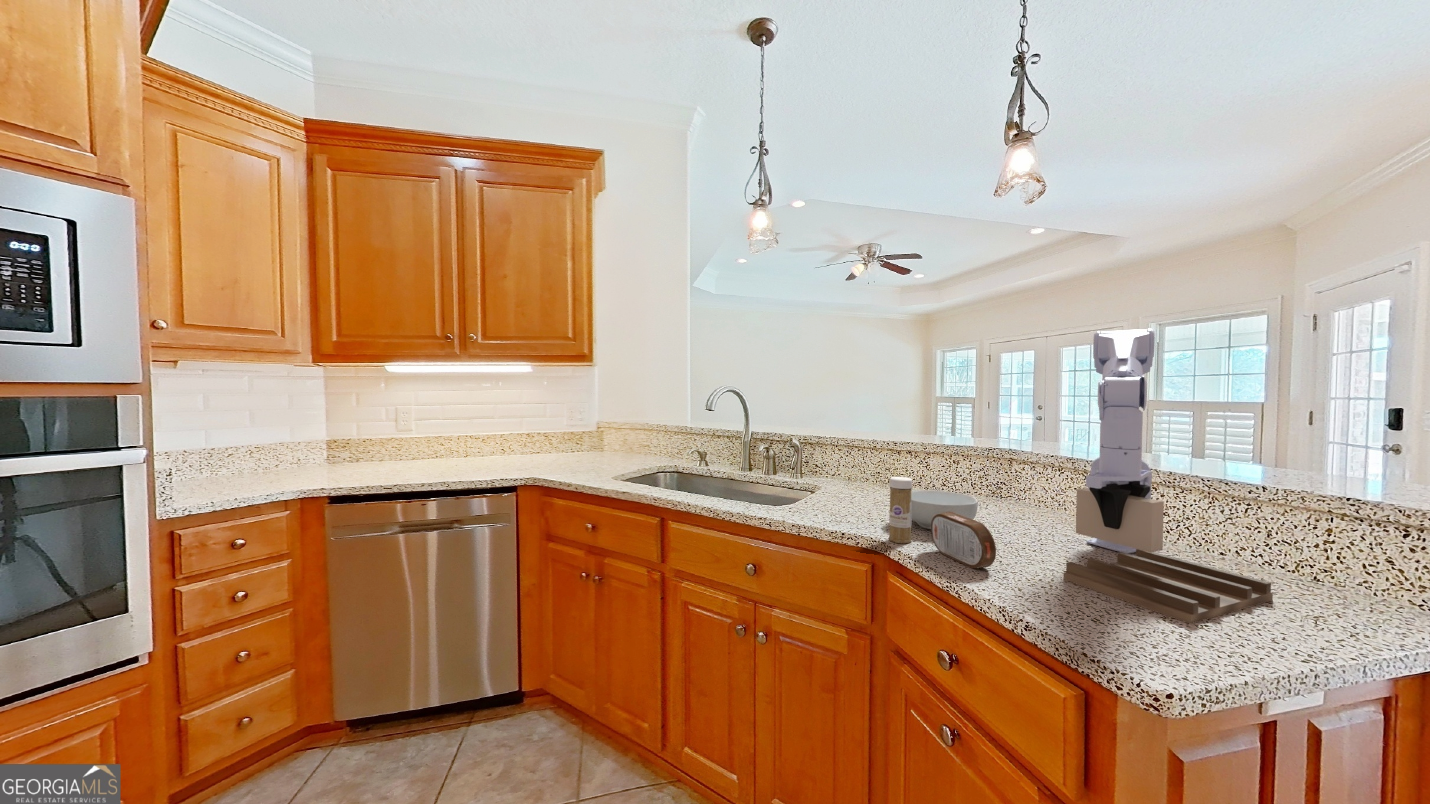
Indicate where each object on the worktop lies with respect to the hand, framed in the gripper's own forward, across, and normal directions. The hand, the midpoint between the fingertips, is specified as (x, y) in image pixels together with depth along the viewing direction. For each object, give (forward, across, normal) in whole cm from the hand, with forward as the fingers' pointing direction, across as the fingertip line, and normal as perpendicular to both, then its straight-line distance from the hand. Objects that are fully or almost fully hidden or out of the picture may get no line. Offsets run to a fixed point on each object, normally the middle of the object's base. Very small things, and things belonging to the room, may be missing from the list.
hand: (1118, 526), depth 91 cm
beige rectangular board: (+3, 0, 0) cm, 3 cm away
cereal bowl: (+9, +3, -37) cm, 38 cm away
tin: (+9, +18, -17) cm, 26 cm away
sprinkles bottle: (+9, +19, -31) cm, 38 cm away
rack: (+9, -1, +6) cm, 11 cm away
